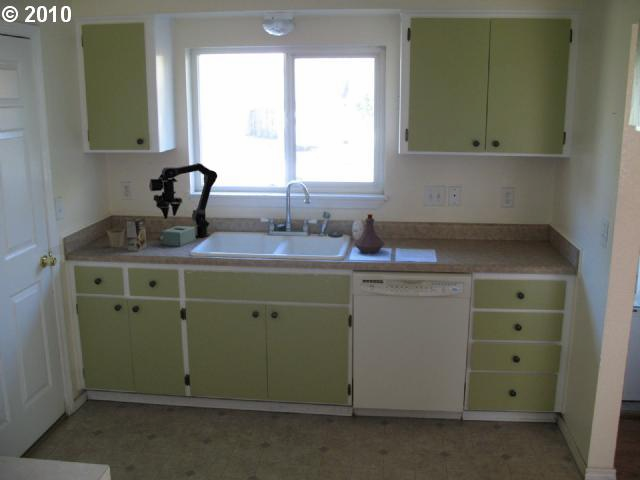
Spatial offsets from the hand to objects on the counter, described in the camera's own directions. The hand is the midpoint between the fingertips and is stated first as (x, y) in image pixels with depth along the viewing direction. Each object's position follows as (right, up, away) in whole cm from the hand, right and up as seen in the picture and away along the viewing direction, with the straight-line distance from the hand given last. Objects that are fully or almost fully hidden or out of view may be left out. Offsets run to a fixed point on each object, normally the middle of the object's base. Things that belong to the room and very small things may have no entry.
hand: (170, 217), depth 371 cm
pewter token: (-4, -13, +5) cm, 14 cm away
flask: (+112, -19, -24) cm, 116 cm away
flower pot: (-26, -17, -14) cm, 34 cm away
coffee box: (-13, -18, -20) cm, 30 cm away
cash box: (+7, -15, -5) cm, 17 cm away
